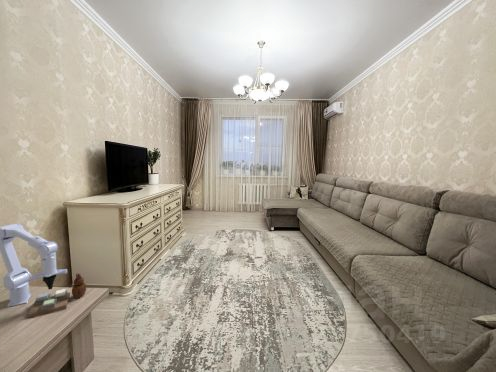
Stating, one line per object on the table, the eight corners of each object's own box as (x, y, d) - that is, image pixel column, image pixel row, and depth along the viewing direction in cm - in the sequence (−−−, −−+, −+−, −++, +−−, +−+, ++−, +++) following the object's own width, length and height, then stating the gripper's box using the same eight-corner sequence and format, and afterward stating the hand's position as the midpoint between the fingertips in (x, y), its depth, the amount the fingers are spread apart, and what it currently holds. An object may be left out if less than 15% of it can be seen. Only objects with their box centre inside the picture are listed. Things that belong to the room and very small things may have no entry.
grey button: (39, 298, 123) (38, 294, 122) (48, 296, 125) (48, 292, 124) (37, 301, 119) (36, 298, 119) (47, 299, 121) (46, 295, 121)
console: (36, 303, 123) (35, 296, 123) (70, 295, 131) (69, 289, 131) (28, 318, 111) (27, 310, 111) (66, 308, 119) (65, 301, 119)
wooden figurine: (78, 300, 127) (77, 275, 125) (69, 298, 128) (68, 274, 127) (88, 293, 133) (87, 270, 132) (80, 292, 135) (79, 268, 133)
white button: (56, 294, 127) (56, 290, 126) (65, 292, 129) (65, 288, 128) (55, 297, 123) (55, 294, 123) (64, 295, 125) (64, 292, 125)
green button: (45, 304, 119) (44, 300, 119) (54, 302, 121) (54, 298, 121) (43, 308, 115) (43, 304, 115) (53, 306, 118) (53, 302, 117)
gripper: (28, 270, 113) (30, 295, 114) (65, 264, 121) (66, 288, 122) (32, 265, 119) (34, 289, 120) (67, 260, 127) (68, 282, 128)
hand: (50, 288), depth 122 cm, fingers closed
